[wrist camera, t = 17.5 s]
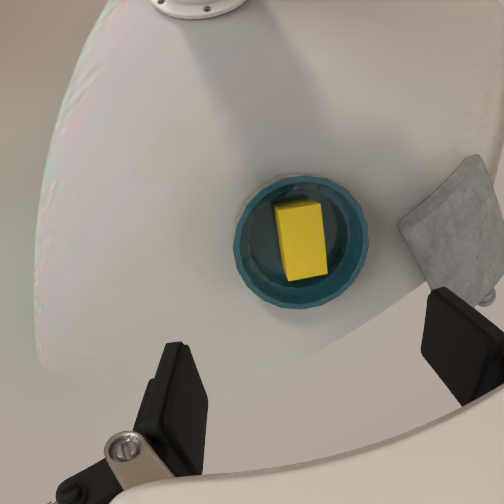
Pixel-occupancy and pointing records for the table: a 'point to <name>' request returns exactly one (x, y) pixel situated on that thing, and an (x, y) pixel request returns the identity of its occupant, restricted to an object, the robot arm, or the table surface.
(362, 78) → the table surface
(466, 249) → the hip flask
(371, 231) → the table surface
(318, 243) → the sponge
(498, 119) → the table surface
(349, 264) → the bowl
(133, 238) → the table surface
